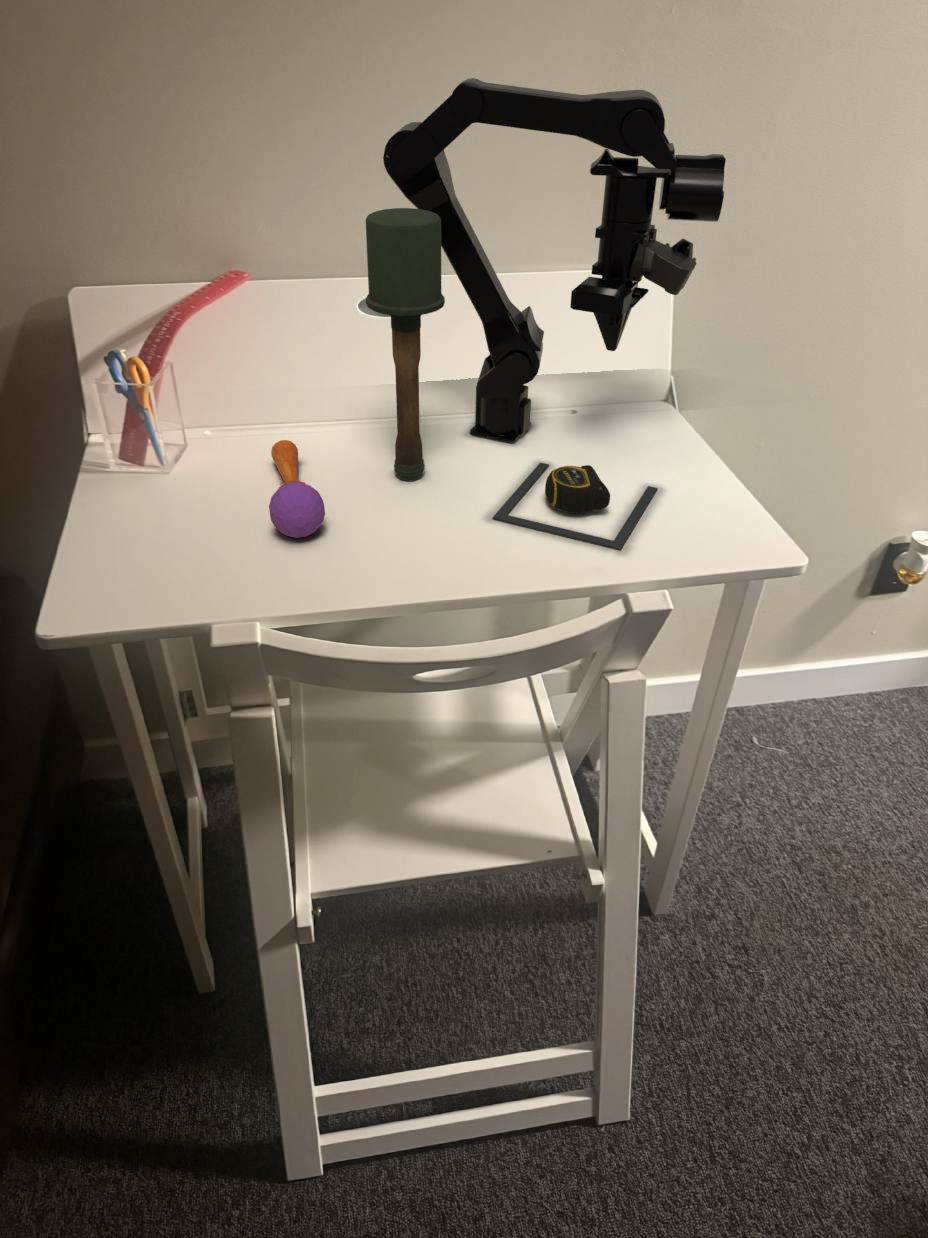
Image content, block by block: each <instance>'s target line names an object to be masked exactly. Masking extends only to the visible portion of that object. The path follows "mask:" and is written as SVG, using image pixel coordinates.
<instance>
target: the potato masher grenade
mask: <svg viewBox="0 0 928 1238" xmlns="http://www.w3.org/2000/svg"><path fill="white" fill-rule="evenodd" d="M365 237H366V239H365V240H366V258H367V259H366V261H367V281H368V282H367V283H368V294H367V295H366V297H365V304H366V306H367V308H368V309H370V310H371V311H374V313H378V314H383V315H387V316H390V328H391V345H392V359H393V364H394V372H395V374H394V375H395V401H396V430H397V431H396V432H397V433H396V439H395V444H394V454H395V456H394V458H395V459H394V464H393V468H394V473H395V474H396V477H397V478H399V479H400V480H402V481H407V482H408V481H409V482H412V481H417V480H419V479H420V478H421V477H422V476H423V474H424V472H425V460H424V458H423V457H424V454H423V452H424V449H423V442H422V436H421V432H420V431H421V430H420V371H419V369H420V361H421V356H422V355H421V351H422V350H421V347H422V346H421V327H422V316H423V315H428V314H432V313H436V312H437V311H439V310H441V309H443V308H444V305H445V303H446V299H445V296H444V295H443V294H442V246H441V218H440V217H439V216H438V215H437V214H436V213H433V212H430V211H427V210H422V209H417V208H412V207H411V208H410V207H394V208H384V209H380V210H376V211H373V212H371V213H369V214H368V215H367V216H366V218H365Z"/></svg>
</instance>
